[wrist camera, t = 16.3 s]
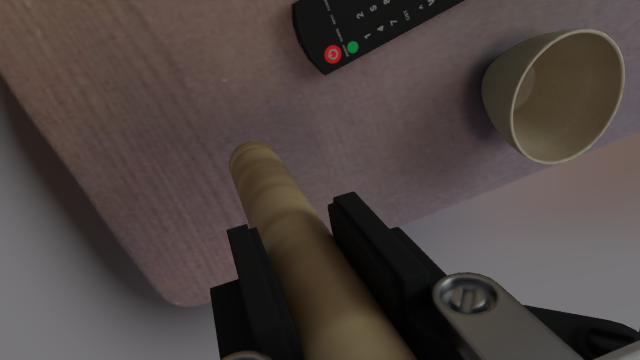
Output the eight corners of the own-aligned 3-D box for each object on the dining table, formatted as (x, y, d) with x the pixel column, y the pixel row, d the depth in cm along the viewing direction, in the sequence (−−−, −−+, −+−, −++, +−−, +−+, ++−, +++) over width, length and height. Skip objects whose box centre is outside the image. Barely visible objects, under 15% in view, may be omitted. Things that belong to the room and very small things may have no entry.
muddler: (235, 191, 19) (345, 503, 7) (222, 147, 18) (324, 422, 7) (281, 178, 19) (454, 455, 8) (271, 134, 18) (448, 371, 7)
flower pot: (447, 44, 36) (506, 55, 30) (551, 7, 38) (628, 10, 32) (462, 154, 41) (516, 184, 35) (555, 116, 43) (623, 138, 36)
